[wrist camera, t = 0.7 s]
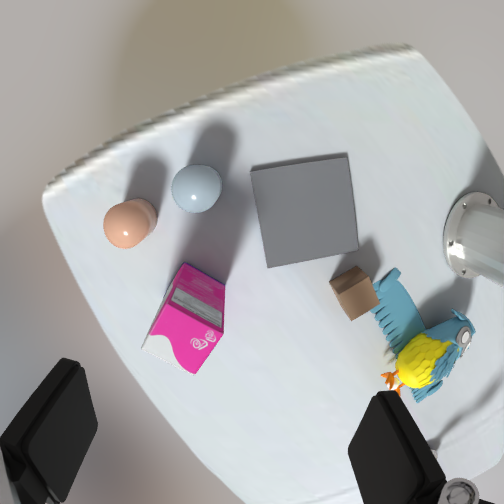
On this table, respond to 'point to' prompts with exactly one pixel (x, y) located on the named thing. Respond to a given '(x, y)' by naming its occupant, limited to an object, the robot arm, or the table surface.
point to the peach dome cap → (129, 222)
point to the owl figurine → (418, 340)
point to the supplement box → (188, 320)
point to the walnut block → (355, 292)
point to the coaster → (305, 211)
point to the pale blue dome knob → (196, 188)
